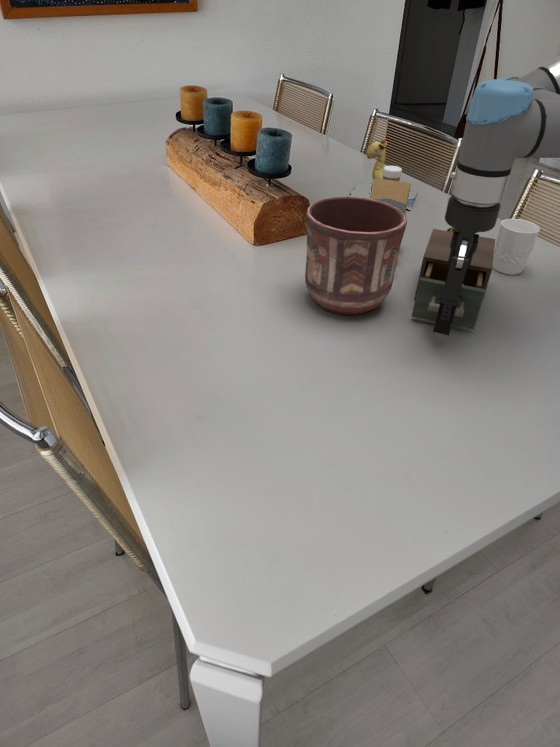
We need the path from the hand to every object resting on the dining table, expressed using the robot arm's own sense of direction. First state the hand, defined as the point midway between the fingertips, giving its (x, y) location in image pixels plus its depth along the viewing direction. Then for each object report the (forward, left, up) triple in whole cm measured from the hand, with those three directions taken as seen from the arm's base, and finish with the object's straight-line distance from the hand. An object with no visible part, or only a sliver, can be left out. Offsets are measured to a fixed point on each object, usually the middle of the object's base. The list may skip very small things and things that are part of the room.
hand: (441, 331), depth 95 cm
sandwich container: (+17, -31, -3) cm, 36 cm away
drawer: (0, -11, -2) cm, 11 cm away
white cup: (-11, -37, -3) cm, 39 cm away
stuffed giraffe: (+24, -70, -3) cm, 74 cm away
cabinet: (0, -21, -3) cm, 21 cm away
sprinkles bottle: (+20, -53, -3) cm, 57 cm away
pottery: (+19, -8, -3) cm, 21 cm away
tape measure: (0, -44, -3) cm, 44 cm away
